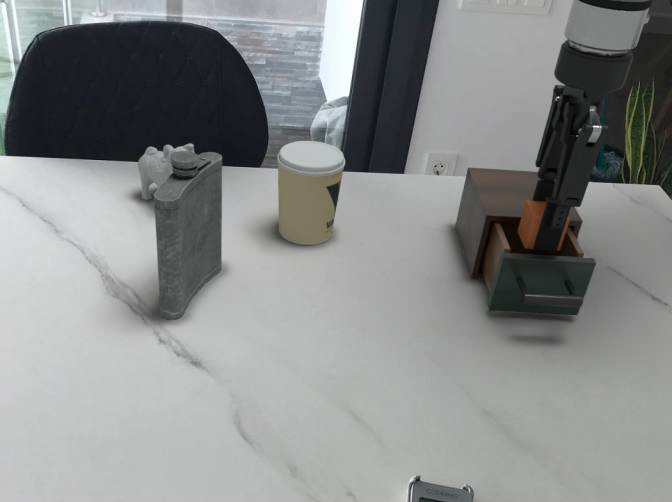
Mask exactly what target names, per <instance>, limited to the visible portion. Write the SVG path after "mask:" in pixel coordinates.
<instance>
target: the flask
mask: <svg viewBox="0 0 672 502" xmlns="http://www.w3.org/2000/svg"><path fill="white" fill-rule="evenodd" d="M170 162H171V164H172V171H173V173H172V174H171V175H170V176H169V177H168V178H167V179H166V180H165V181H164V182H163V183H162V184H161V185H160V186H159V187H158V188H157V189H156V191H155V192H154V194H153V202H154V220H155V221H154V222H155V237H156V255H157V257H156V259H157V274H158V275H157V276H158V295H159V311H160V313H159V315H160V316H161V317H162V318H164V319H166V320H169V321H170V320H171V321H172V320H173V321H174V320H178V319H180V318H182V317H183V316H184V314H185V311H186V310H187V308H188V306H189V305H190V303H191V301H192V300H193V298H194V297H195V296H196V294H197V293H198V292H199V291H201V289H202V288H203V287H204V286H205V285H206V284H207V283H208V282H209V281H211V279H212V278H214V277H215V276H217V275H218V274H219V273H220V272H222V254H223V253H222V252H223V251H222V247H223V246H222V235H223V233H222V232H223V231H222V230H223V225H222V224H223V155H221V154H220V153H218V152H214V151H206V152H205V151H204V152H201V153H200V154H197V152H195V151H194V152H190V151H178V152H175V153H172V154H171V156H170Z"/></svg>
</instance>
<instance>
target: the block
mask: <svg viewBox="0 0 672 502" xmlns="http://www.w3.org/2000/svg"><path fill="white" fill-rule="evenodd" d="M545 207H546V203H545V202H543V201H529V200H526V203H525V207H524V210H523V214H522V217H521V221H520V224H519V227H518V231H517V232H518V234H519V236H520V239H521V241H522V243H523V245H524V248H525V249H534V248H533V247H534V244H535V241H536V237H537V234H538V231H539V227H540V224H541V221H542V217H543V213H544V210H545ZM569 221H570V218H569V217H567V220H566V224H565V227H564V230H563V233H562V236H561V239H560V242H559V245H558V248H557V251H560V248H561V245H562V242H563V239H564V236H565V233H566V230H567V227H568V224H569Z"/></svg>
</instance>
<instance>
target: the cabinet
mask: <svg viewBox="0 0 672 502" xmlns="http://www.w3.org/2000/svg"><path fill="white" fill-rule="evenodd" d="M466 171H467V172H466V175H465V180H464V184H463V189H462V194H461V198H460V202H459V207H458V211H457V216H456V220H455V225H454V230H455V233H456V235H457V238H458V242H459V245H460V248H461V252H462V254H463V258H464V261H465V265H466V267H467V270H468V273H469V276H470V279H472V280H485V278H484V275H483V272H482V269H481V266H480V263H481V259H482V255H483V251H484V247H485V243H486V239H487V235H488V231H489V227H490V223H491V221H501V222H517V223H520V221H521V217H522V214H523V210H524V207H525V203H526V200H529V201H532V199H533V196H534V192H535V189H536V185H537V182H538V180H540V178H538V171H530V170H513V169H500V168H499V169H497V168H483V167H467V170H466ZM555 181H556V179H555ZM568 217H569V218H570V221H569V224H568V226H570V228H571V230H572V232H573V234H574V235H575V237H576V239H577V240H578V237H579V234H580V231H581V228H582V225H583V222H584V221H583V218H582V217H581V215H580V214H579V212H578V210H577V208H576V207H571V208H570V211H569V214H568Z"/></svg>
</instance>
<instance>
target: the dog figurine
mask: <svg viewBox="0 0 672 502" xmlns="http://www.w3.org/2000/svg"><path fill="white" fill-rule="evenodd" d="M178 151H190V152H194V153H195V145H194V144H193V143H187V144H185V145H181V146H177V147H176V148H174V147H173V146H172V145H171V144H165V145H164V146H163V149H162V150H158V149H157V148H156V147H154V146H148V147H147V148H146V149H145V152H144V154H142V155H141V157H140V158H139V159H138V161H137V169H138V173H139V176H140V184H141V198H142V199H143V200H145V201H148V200H151V199H152V198H153V196H152V195H151V194H150V191H149V188H150V186H151V185H152V184H155V185H156V186H157V187H158V188H159V186H160V185H161V184H162V183H163V182H164V181H165V180H166V179H167V178H168V177H169V176H170V175H171V174H172V173H173V171H172V164H171V162H170V156H171V154H172V153H175V152H178Z"/></svg>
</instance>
